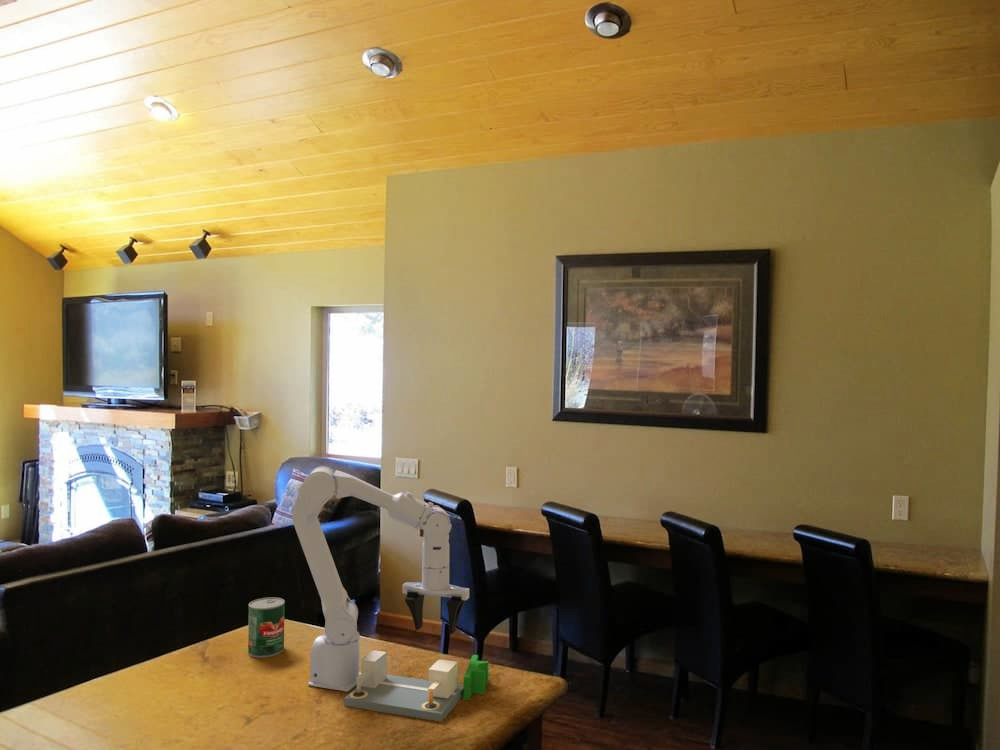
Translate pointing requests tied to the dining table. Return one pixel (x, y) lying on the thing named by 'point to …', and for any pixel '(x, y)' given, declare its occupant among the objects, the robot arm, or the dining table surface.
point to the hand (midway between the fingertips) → (435, 630)
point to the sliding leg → (442, 679)
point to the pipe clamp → (475, 677)
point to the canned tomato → (266, 627)
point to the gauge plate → (397, 692)
